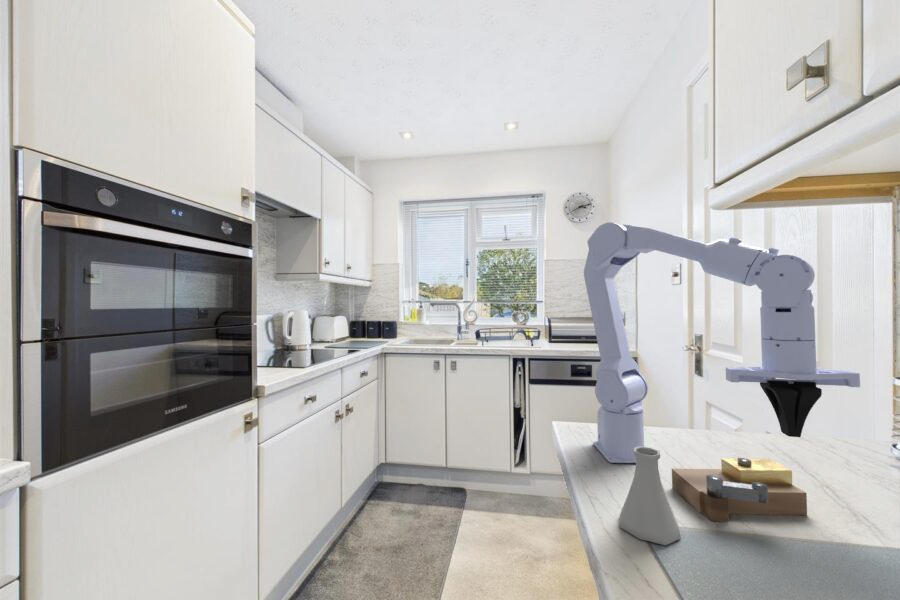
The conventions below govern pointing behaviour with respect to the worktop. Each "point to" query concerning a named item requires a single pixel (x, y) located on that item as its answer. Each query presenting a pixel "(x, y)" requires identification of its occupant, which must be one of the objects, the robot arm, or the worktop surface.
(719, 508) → the body
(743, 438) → the worktop surface
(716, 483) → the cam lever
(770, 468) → the lever cap
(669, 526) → the flask
